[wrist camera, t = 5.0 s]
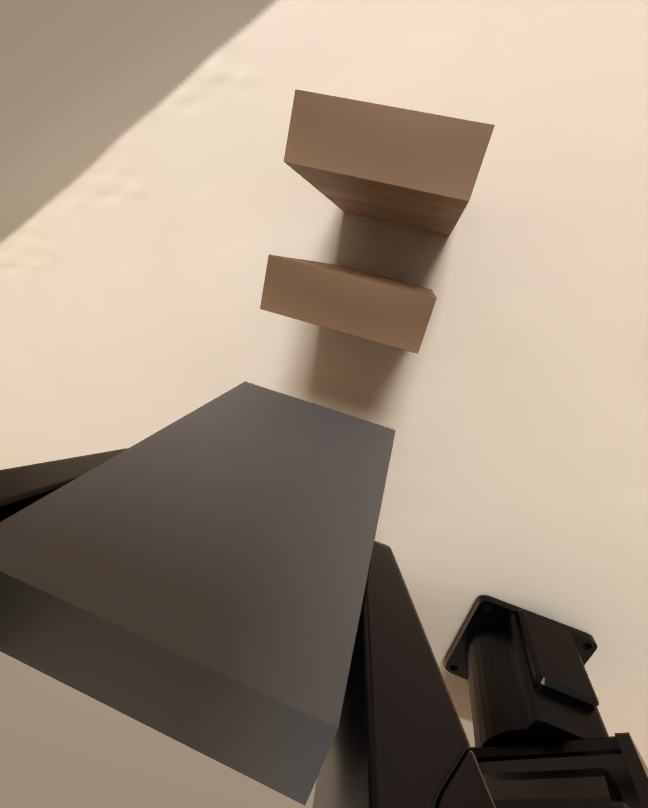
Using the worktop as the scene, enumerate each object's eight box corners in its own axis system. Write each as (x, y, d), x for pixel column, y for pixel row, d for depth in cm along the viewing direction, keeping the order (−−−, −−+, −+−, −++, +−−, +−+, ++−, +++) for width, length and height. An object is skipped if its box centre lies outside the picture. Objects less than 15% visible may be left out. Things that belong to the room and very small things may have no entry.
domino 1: (449, 235, 16) (469, 201, 9) (343, 211, 17) (284, 161, 10) (462, 195, 16) (494, 125, 9) (352, 172, 17) (295, 89, 9)
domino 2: (420, 322, 18) (417, 353, 11) (324, 296, 19) (260, 308, 11) (431, 289, 17) (436, 298, 10) (331, 264, 18) (268, 254, 11)
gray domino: (380, 474, 12) (305, 805, 4) (237, 425, 12) (-31, 635, 5) (395, 430, 11) (338, 728, 4) (245, 381, 12) (-47, 548, 4)
